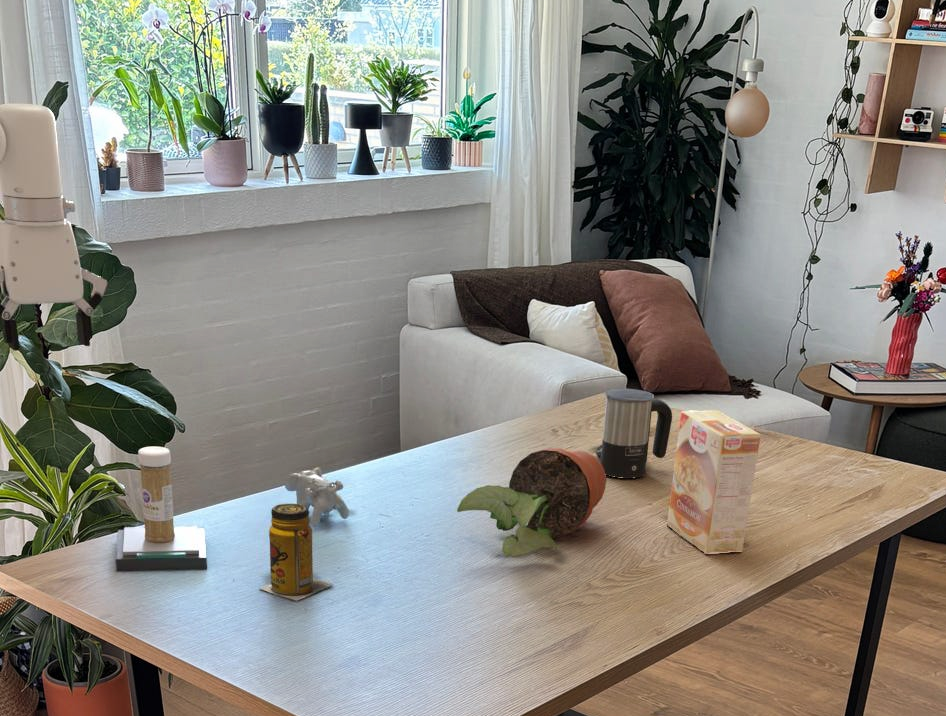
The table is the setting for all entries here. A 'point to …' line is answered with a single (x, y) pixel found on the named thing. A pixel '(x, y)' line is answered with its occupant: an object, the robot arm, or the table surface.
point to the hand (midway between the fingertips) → (49, 346)
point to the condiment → (292, 553)
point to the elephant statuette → (317, 494)
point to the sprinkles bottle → (157, 493)
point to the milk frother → (632, 431)
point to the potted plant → (542, 498)
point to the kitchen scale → (161, 550)
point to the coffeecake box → (713, 480)
